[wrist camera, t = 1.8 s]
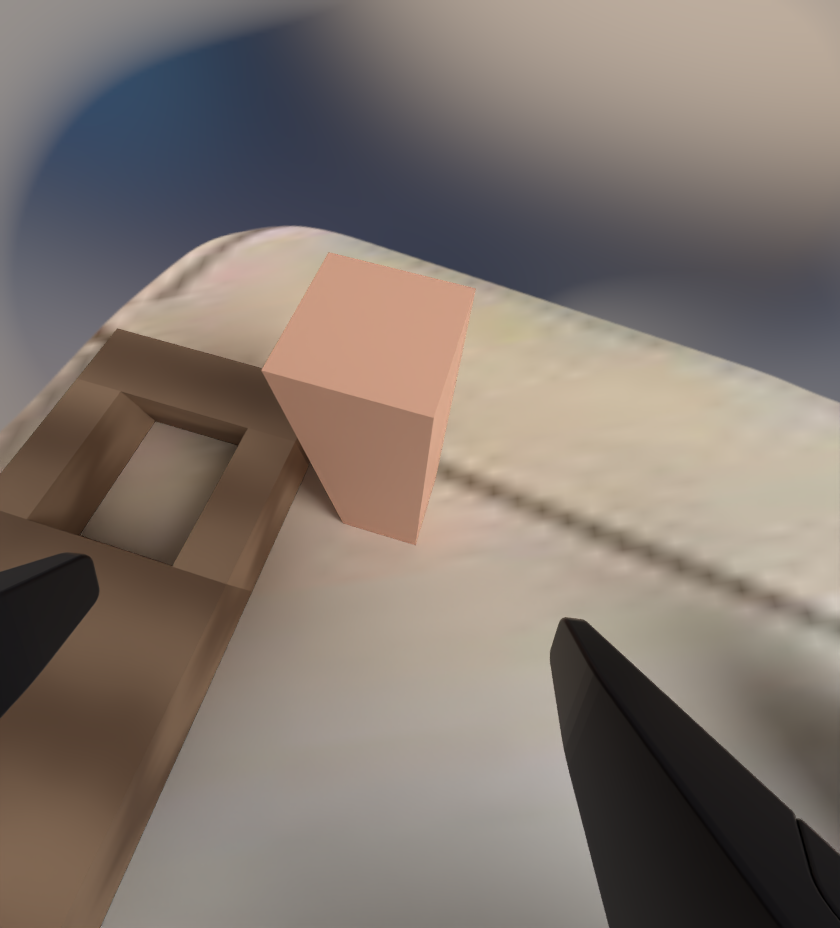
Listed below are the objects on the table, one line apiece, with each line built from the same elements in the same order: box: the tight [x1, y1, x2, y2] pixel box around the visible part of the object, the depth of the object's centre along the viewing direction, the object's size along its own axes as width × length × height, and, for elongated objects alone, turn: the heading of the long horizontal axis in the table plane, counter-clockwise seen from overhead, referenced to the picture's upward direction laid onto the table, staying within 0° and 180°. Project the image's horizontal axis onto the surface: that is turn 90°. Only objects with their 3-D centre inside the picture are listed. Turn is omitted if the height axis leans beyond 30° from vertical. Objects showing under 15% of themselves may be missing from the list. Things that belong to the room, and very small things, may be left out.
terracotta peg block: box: [261, 252, 476, 545], centre depth 15 cm, size 4×4×13 cm
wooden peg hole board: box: [0, 329, 310, 928], centre depth 17 cm, size 24×12×3 cm, turn 164°
